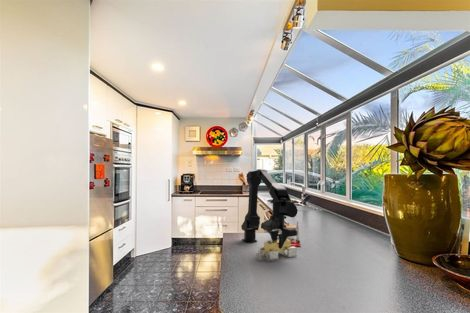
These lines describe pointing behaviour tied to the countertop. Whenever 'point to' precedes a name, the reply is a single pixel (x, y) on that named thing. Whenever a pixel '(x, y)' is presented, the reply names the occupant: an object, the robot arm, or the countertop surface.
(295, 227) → the lidded jar
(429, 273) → the countertop surface
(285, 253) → the chain ends
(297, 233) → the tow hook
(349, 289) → the countertop surface
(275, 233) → the robot arm
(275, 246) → the link
